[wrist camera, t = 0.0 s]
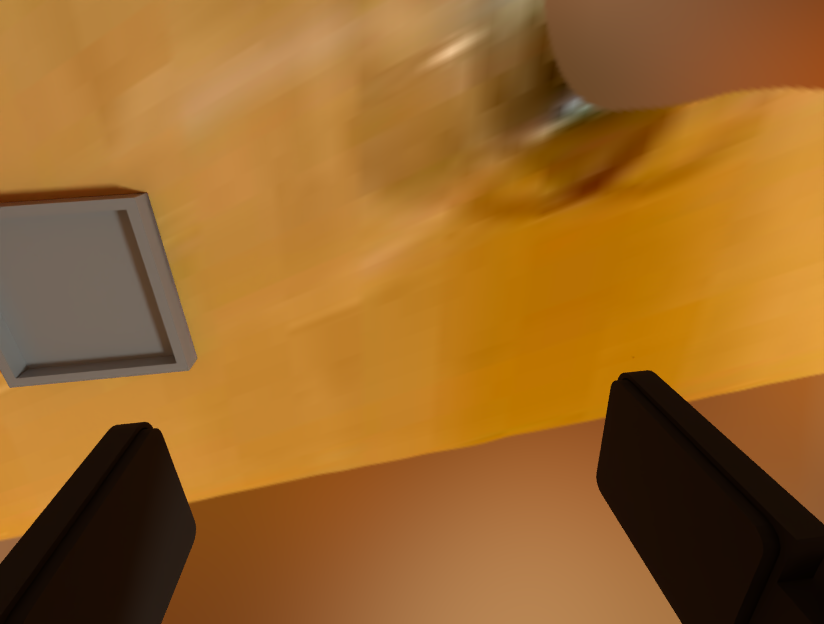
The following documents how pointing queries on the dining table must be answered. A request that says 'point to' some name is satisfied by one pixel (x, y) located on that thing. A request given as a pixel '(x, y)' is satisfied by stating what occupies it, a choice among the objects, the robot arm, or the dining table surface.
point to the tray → (87, 292)
